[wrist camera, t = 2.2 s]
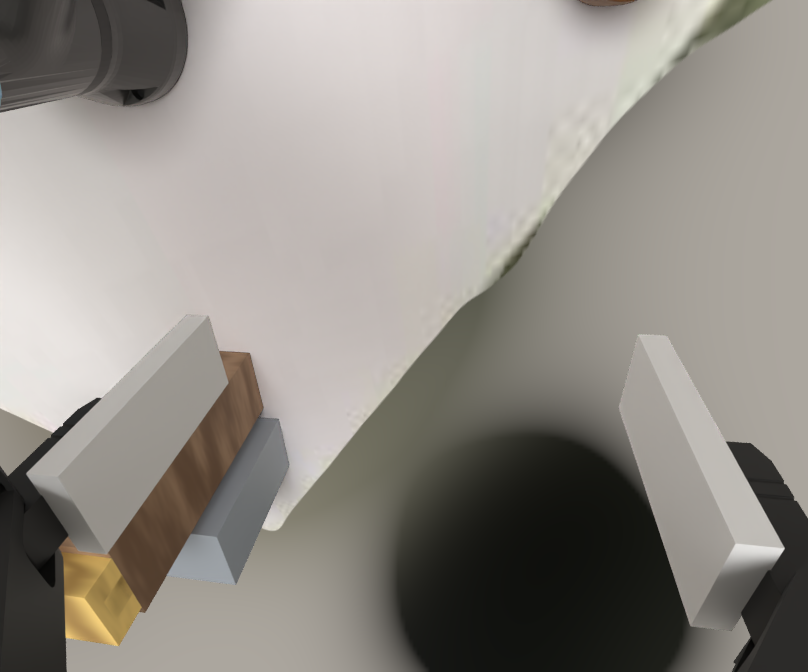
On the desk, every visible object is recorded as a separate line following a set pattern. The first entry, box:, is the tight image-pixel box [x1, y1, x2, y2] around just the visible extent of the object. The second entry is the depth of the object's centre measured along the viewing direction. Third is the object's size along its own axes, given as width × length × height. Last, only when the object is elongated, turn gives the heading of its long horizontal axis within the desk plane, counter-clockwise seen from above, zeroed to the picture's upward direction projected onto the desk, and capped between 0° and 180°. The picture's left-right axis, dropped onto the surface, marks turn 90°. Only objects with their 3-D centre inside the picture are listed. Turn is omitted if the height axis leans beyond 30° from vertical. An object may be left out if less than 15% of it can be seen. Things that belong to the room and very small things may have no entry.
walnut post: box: [59, 351, 263, 613], centre depth 58 cm, size 12×10×30 cm
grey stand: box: [167, 418, 289, 585], centre depth 69 cm, size 14×10×20 cm
